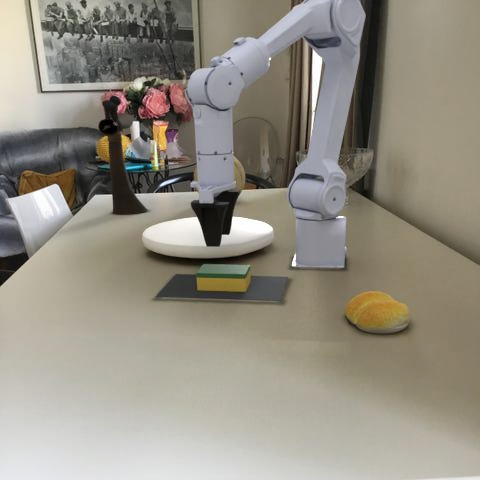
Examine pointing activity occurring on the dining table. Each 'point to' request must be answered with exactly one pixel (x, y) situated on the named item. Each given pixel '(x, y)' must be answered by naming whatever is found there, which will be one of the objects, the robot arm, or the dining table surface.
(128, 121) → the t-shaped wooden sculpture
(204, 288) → the sponge
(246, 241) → the plate
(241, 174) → the cantaloupe
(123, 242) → the dining table surface
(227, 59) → the robot arm
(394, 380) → the dining table surface
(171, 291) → the sponge mat
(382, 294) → the bread roll
